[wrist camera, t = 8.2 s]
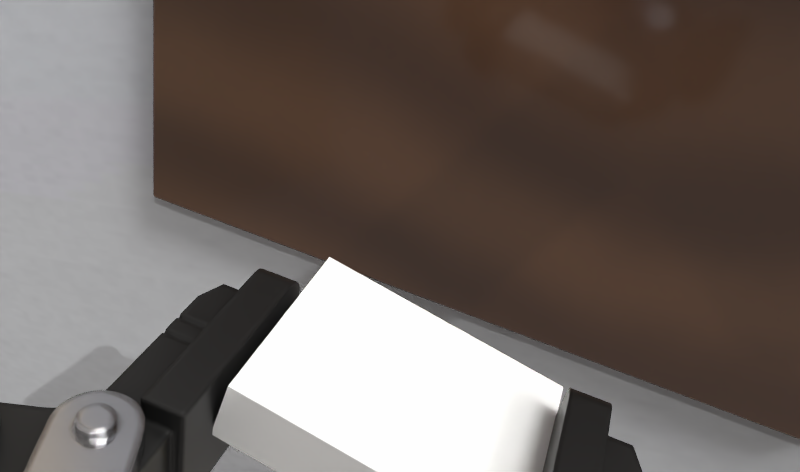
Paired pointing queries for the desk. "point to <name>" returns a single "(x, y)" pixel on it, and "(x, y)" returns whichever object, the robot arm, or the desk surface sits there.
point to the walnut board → (517, 166)
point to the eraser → (383, 390)
